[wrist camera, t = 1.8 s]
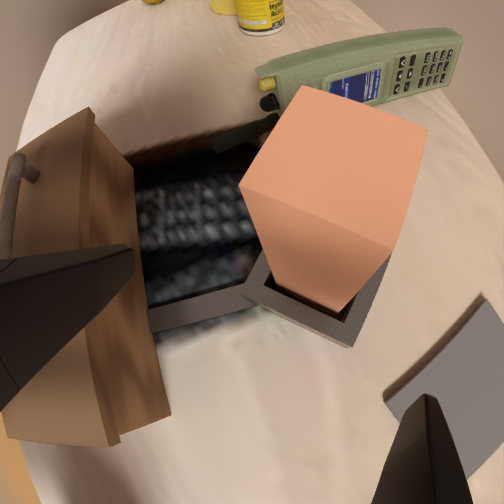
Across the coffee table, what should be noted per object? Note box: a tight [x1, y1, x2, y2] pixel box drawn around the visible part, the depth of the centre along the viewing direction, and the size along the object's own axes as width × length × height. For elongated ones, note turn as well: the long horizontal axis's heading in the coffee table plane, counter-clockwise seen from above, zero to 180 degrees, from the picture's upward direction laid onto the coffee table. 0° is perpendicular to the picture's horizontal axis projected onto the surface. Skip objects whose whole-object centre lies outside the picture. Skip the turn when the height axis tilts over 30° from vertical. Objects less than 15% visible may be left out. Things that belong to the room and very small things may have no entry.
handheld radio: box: [211, 27, 463, 153], centre depth 21 cm, size 7×3×25 cm
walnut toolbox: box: [0, 107, 171, 447], centre depth 17 cm, size 21×9×10 cm, turn 15°
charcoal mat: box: [384, 299, 504, 480], centre depth 15 cm, size 10×10×1 cm
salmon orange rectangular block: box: [239, 85, 428, 316], centre depth 13 cm, size 4×4×13 cm
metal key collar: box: [146, 250, 392, 348], centre depth 19 cm, size 12×13×2 cm
